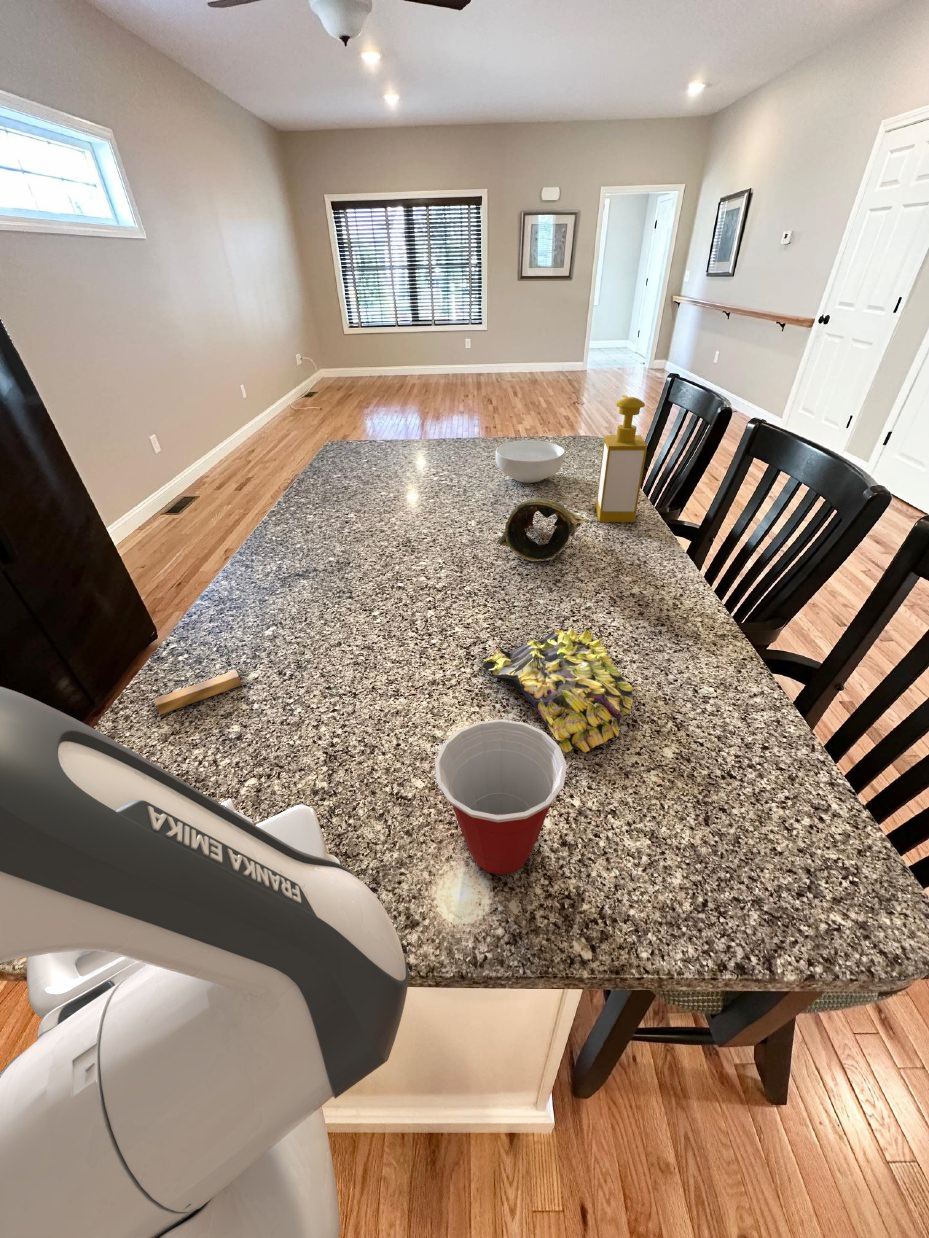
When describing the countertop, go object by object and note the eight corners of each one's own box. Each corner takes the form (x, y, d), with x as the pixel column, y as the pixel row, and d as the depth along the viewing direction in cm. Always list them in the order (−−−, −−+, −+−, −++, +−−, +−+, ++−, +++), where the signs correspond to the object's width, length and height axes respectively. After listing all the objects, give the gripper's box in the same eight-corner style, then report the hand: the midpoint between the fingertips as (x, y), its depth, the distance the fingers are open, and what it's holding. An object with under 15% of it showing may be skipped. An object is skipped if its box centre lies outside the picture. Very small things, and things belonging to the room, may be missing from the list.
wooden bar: (160, 715, 64) (155, 705, 64) (158, 707, 66) (154, 698, 65) (242, 685, 69) (238, 676, 68) (239, 678, 70) (236, 669, 69)
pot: (585, 482, 101) (580, 485, 84) (598, 538, 103) (595, 551, 87) (503, 505, 107) (482, 513, 90) (516, 558, 109) (499, 574, 92)
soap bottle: (625, 499, 117) (642, 387, 103) (634, 522, 106) (654, 401, 93) (593, 498, 117) (605, 387, 104) (599, 521, 107) (614, 402, 94)
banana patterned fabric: (660, 740, 60) (662, 710, 55) (528, 789, 60) (518, 763, 55) (589, 623, 74) (585, 592, 69) (482, 663, 74) (471, 634, 69)
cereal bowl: (519, 494, 121) (520, 465, 117) (483, 474, 133) (482, 447, 129) (576, 480, 127) (579, 451, 123) (537, 462, 139) (538, 436, 135)
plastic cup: (528, 783, 54) (533, 700, 47) (577, 878, 46) (592, 795, 39) (429, 812, 52) (419, 730, 45) (462, 919, 43) (456, 837, 36)
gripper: (349, 874, 37) (294, 749, 47) (1, 1066, 28) (23, 864, 38) (361, 917, 41) (308, 792, 50) (55, 1099, 32) (63, 906, 42)
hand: (183, 824), depth 44 cm, fingers closed on supplement bottle, 5 cm apart
